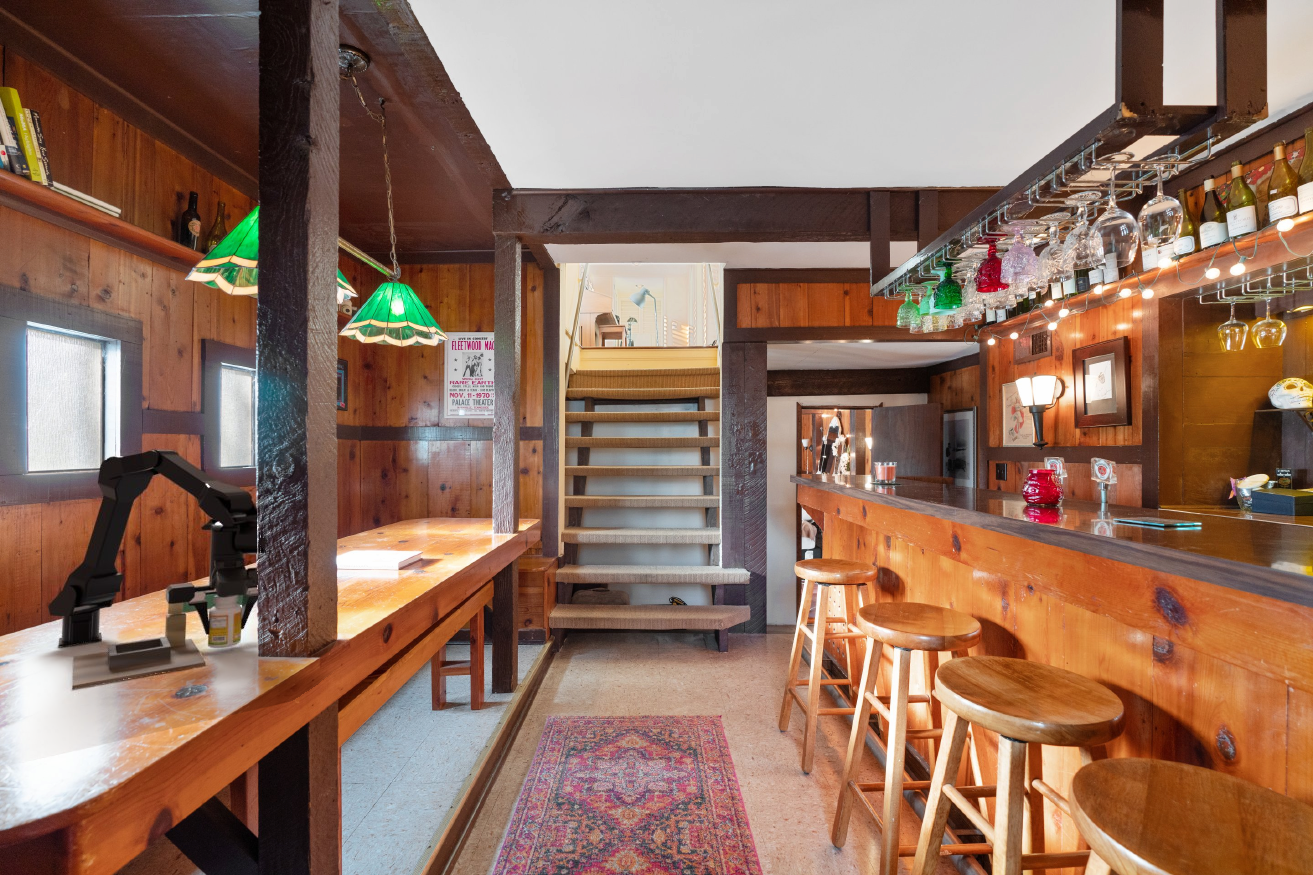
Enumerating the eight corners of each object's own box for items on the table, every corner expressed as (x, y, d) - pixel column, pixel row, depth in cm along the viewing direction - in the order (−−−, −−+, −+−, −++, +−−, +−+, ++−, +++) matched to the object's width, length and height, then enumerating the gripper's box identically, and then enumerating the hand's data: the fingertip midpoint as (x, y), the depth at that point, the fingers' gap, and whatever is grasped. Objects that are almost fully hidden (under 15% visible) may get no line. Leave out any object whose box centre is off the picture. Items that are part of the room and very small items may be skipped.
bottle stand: (73, 659, 117) (74, 624, 117) (191, 641, 129) (192, 609, 130) (72, 689, 103) (73, 648, 103) (205, 665, 115) (206, 629, 115)
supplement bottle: (234, 638, 127) (235, 591, 128) (245, 643, 124) (246, 594, 124) (203, 645, 123) (205, 595, 123) (213, 650, 120) (215, 599, 120)
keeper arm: (168, 614, 124) (169, 599, 124) (167, 612, 126) (167, 597, 126) (244, 604, 132) (245, 590, 132) (242, 602, 134) (242, 588, 134)
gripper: (173, 563, 112) (169, 650, 111) (290, 553, 125) (287, 631, 124) (166, 555, 120) (163, 636, 119) (277, 547, 133) (275, 620, 132)
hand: (224, 631), depth 124 cm, fingers closed on supplement bottle, 5 cm apart
